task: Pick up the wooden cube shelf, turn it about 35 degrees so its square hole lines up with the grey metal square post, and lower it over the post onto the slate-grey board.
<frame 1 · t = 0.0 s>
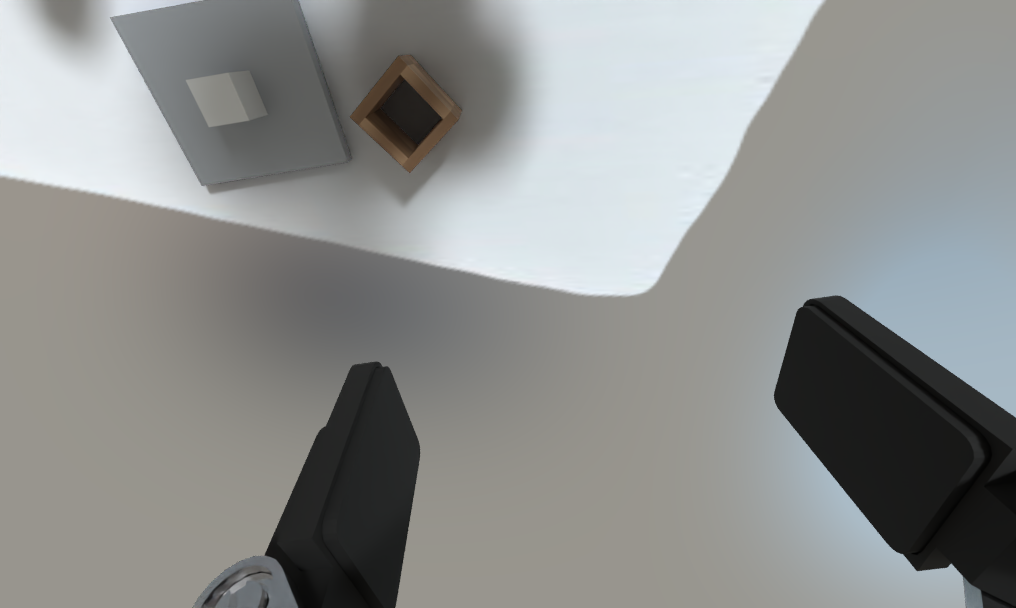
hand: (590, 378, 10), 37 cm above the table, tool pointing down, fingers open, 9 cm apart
wooden cube shelf: (414, 109, 40), on the table
board: (247, 94, 38), on the table
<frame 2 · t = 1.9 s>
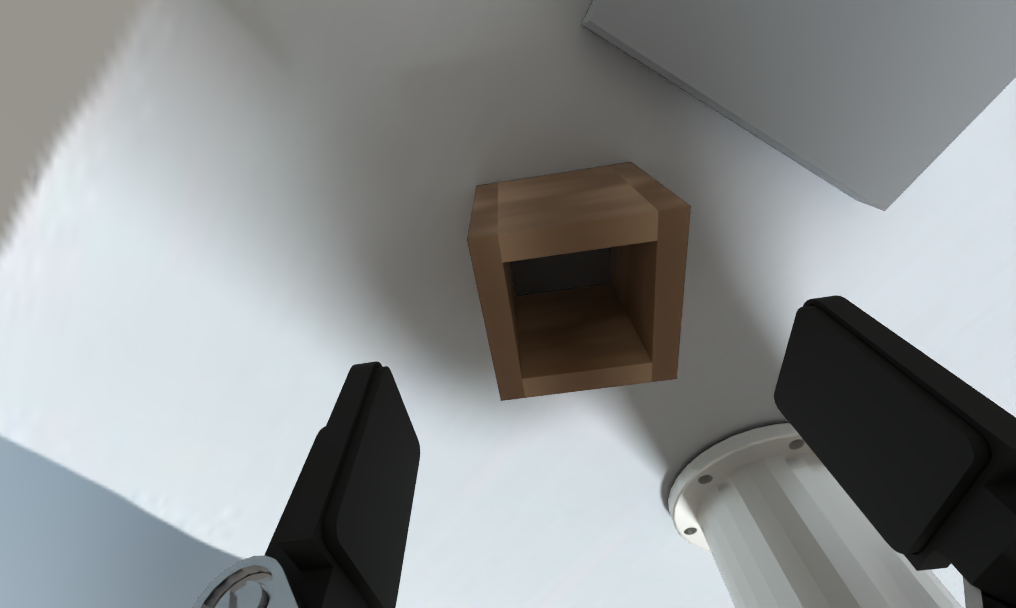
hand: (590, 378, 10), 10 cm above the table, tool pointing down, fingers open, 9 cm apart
wooden cube shelf: (559, 245, 19), on the table
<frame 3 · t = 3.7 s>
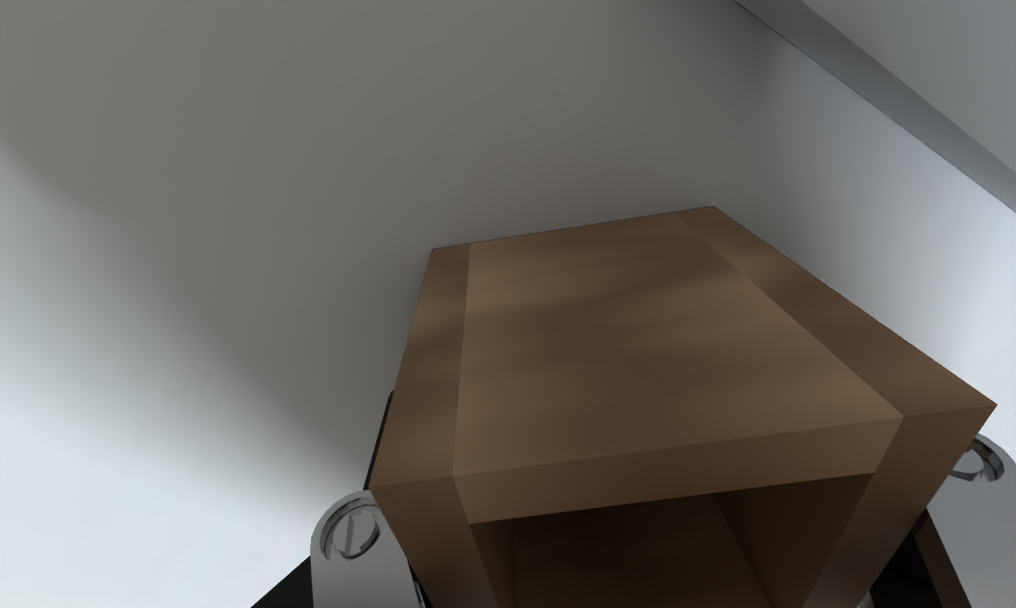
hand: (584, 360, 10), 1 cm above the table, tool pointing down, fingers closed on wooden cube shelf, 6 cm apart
wooden cube shelf: (578, 339, 11), on the table, touching gripper
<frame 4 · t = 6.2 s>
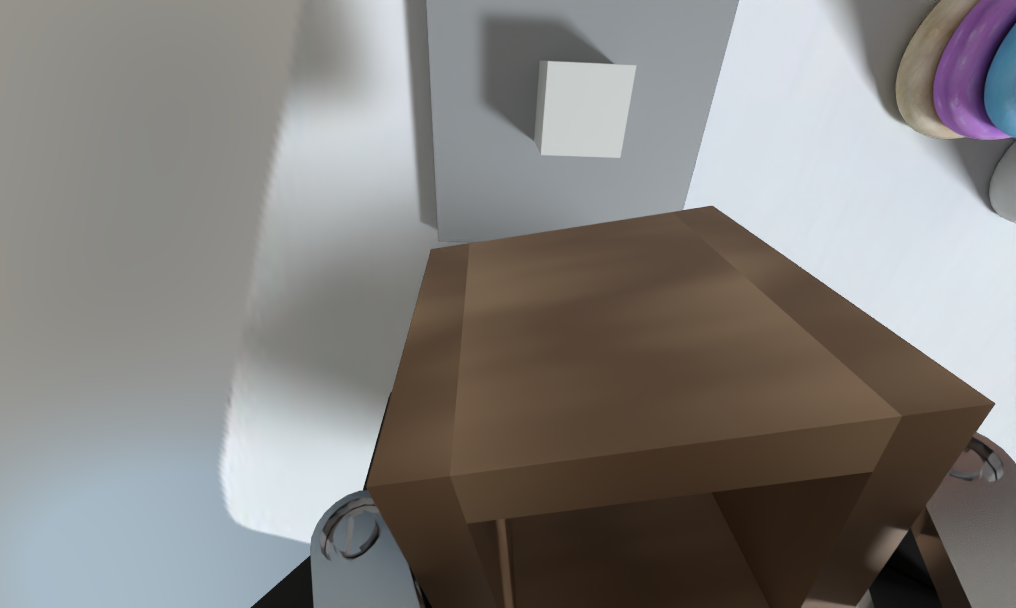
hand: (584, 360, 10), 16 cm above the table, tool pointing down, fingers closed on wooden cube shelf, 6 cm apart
stacking toy: (965, 53, 21), on the table
wooden cube shelf: (577, 339, 11), point 15 cm above the table, touching gripper
board: (568, 101, 22), on the table
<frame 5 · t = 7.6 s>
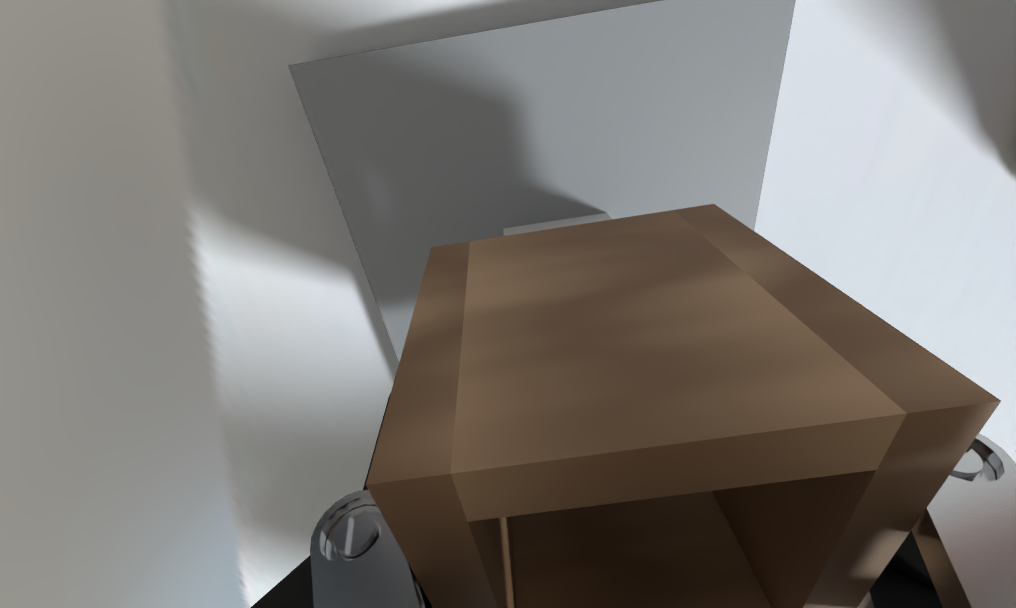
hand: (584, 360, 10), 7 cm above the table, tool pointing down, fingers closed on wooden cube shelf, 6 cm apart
wooden cube shelf: (578, 338, 11), point 6 cm above the table, touching gripper
board: (553, 250, 16), on the table
when the fingers open (4 cm above the table, at t = 8.8 s): wooden cube shelf drops 1 cm, resting on board.
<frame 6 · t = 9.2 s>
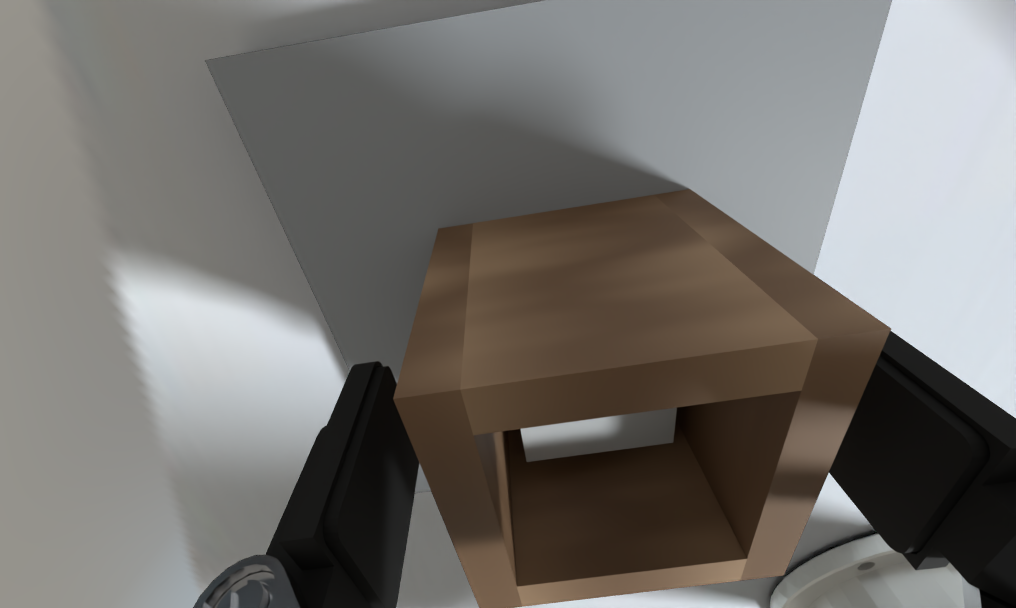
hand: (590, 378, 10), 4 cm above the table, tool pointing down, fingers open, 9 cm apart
wooden cube shelf: (570, 313, 12), point 1 cm above the table, touching board
board: (562, 288, 13), on the table
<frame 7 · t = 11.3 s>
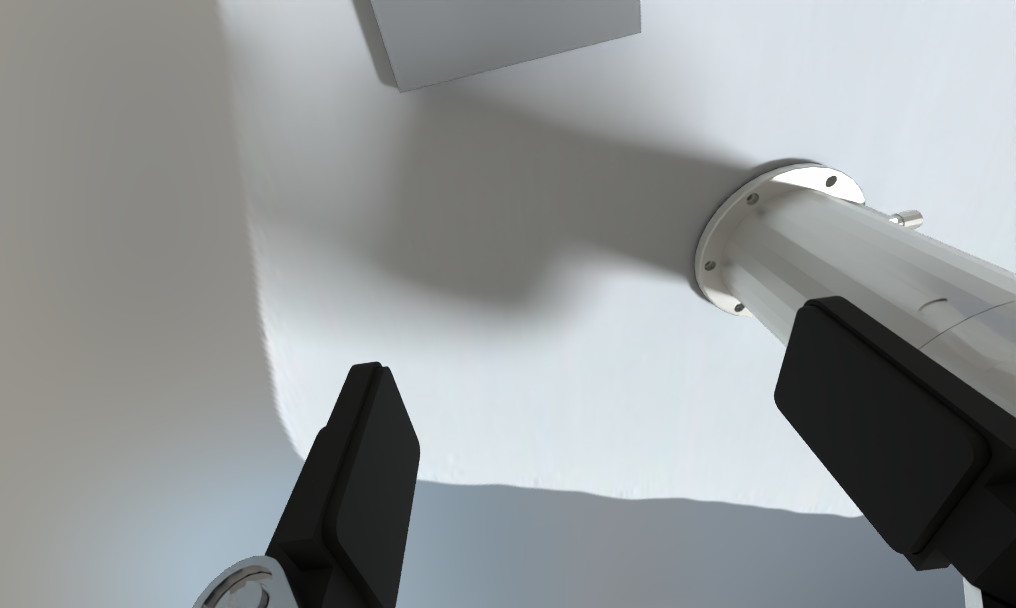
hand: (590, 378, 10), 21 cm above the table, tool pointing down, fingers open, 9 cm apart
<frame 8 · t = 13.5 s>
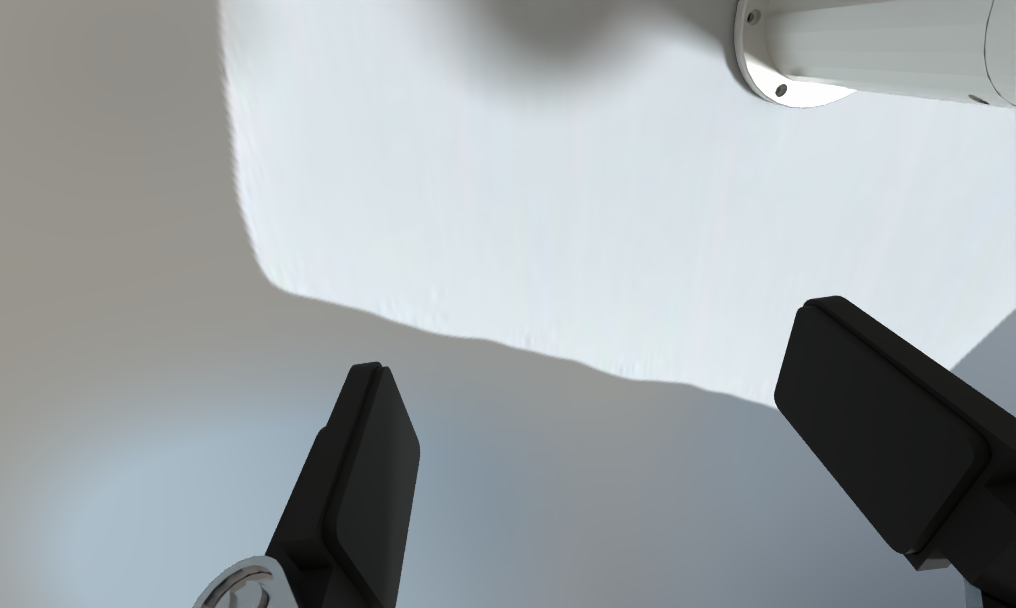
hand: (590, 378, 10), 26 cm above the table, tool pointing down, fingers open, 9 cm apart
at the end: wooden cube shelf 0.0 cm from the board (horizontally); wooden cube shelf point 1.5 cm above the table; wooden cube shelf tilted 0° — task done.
